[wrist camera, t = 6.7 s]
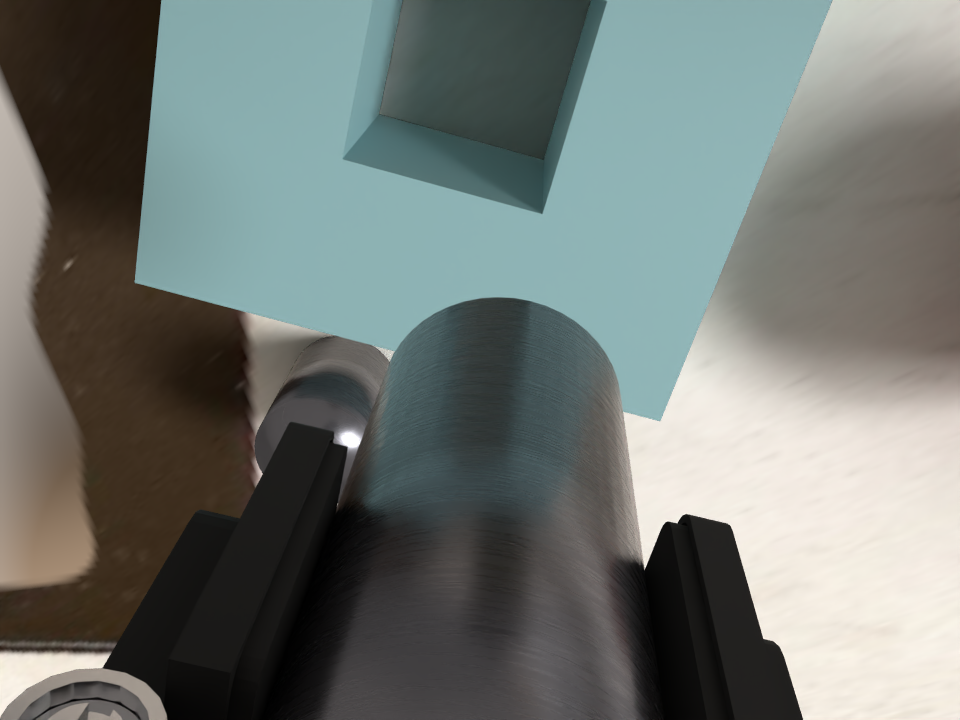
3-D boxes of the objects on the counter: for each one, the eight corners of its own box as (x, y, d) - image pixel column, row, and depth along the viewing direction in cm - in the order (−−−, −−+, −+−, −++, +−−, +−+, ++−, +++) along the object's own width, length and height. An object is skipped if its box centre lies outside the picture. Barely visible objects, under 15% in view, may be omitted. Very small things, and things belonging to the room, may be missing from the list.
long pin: (406, 270, 14) (-33, 1353, 4) (652, 330, 14) (935, 1542, 4) (363, 477, 16) (-17, 1612, 5) (583, 528, 16) (638, 1731, 6)
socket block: (273, -327, 25) (198, -392, 20) (830, -159, 26) (904, -176, 20) (204, 219, 32) (134, 282, 27) (641, 337, 33) (660, 421, 27)
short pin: (301, 324, 34) (263, 387, 29) (407, 351, 34) (386, 419, 29) (284, 415, 35) (246, 488, 31) (385, 440, 36) (362, 517, 31)
